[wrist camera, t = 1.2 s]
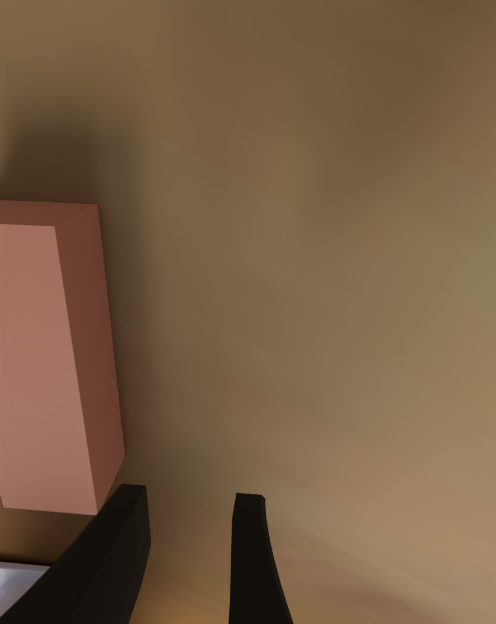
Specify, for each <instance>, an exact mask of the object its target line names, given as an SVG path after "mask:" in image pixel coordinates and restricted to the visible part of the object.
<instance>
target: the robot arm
mask: <svg viewBox="0 0 496 624" xmlns="http://www.w3.org/2000/svg"><path fill="white" fill-rule="evenodd" d="M150 546H151V537H150V525H149V514H148V502H147V491H146V486H143V485H130V484H122V485H120V486H119V487H118V488H117V489H116V491H115V492H114V493H113V494H112V496H111V497H110V498H109V499H108V501H107V502H106V503H105V504H104V506H103V507H102V508H101V509H100V511H99V512H98V513H97V514H96V515H95V517H94V518H93V519H92V520H91V521H90V523H89V524H88V525H87V526H86V527H85V529H84V530H83V531H82V532H81V533H80V534H79V535H78V537H77V538H76V539H75V540H74V541H73V542H72V543H71V544H70V546H69V547H68V548H67V549H66V550H65V551H64V552H63V553H62V555H61V556H60V557H59V558H58V559H57V560H56V561H55V562H54V563H53V564H52V565H51V566H40V565H29V564H18V563H7V562H0V624H128V623H129V620H130V617H131V614H132V611H133V608H134V605H135V602H136V600H137V597H138V594H139V591H140V588H141V584H142V580H143V576H144V572H145V568H146V563H147V559H148V555H149V550H150ZM229 624H294V623H293V621H292V618H291V615H290V611H289V608H288V605H287V602H286V599H285V596H284V593H283V589H282V586H281V583H280V579H279V575H278V571H277V568H276V564H275V560H274V556H273V552H272V547H271V543H270V537H269V532H268V526H267V519H266V508H265V498H264V497H263V496H262V495H257V494H244V493H236V498H235V504H234V510H233V516H232V542H231V582H230V610H229Z"/></svg>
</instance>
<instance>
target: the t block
mask: <svg viewBox="0 0 496 624" xmlns="http://www.w3.org/2000/svg"><path fill="white" fill-rule="evenodd" d="M124 458H125V450H124V441H123V431H122V422H121V413H120V404H119V395H118V385H117V376H116V367H115V358H114V349H113V339H112V330H111V321H110V312H109V303H108V293H107V284H106V275H105V266H104V257H103V247H102V238H101V229H100V220H99V211H98V204H83V203H60V202H36V201H12V200H0V495H1V499H2V503H3V506H4V508H15V509H27V510H39V511H51V512H63V513H75V514H87V515H96V514H97V513H98V512H99V511H100V509H101V508H102V505H103V503H104V501H105V499H106V497H107V495H108V492H109V490H110V488H111V486H112V484H113V482H114V479H115V477H116V475H117V473H118V471H119V469H120V466H121V464H122V462H123V460H124Z"/></svg>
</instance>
